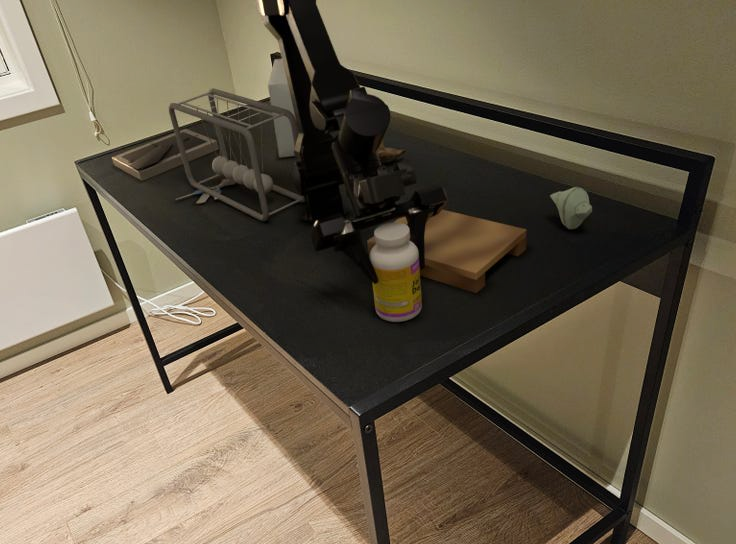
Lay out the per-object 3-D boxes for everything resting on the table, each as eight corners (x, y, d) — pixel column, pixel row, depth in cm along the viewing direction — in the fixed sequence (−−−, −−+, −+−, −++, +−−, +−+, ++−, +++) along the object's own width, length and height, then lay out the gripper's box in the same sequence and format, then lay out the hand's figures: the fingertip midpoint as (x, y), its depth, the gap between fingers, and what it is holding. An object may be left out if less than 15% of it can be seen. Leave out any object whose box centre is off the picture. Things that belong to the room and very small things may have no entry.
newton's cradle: (188, 185, 142) (165, 101, 131) (228, 168, 146) (209, 86, 135) (267, 225, 122) (247, 130, 111) (311, 204, 126) (296, 111, 115)
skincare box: (303, 155, 146) (290, 81, 136) (279, 159, 147) (264, 86, 137) (306, 123, 163) (294, 55, 153) (284, 126, 163) (271, 58, 153)
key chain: (232, 177, 142) (231, 173, 142) (252, 187, 137) (251, 183, 136) (175, 201, 137) (174, 197, 137) (193, 212, 131) (192, 208, 131)
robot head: (544, 223, 107) (546, 184, 103) (564, 215, 108) (567, 176, 104) (579, 241, 101) (583, 201, 97) (600, 233, 102) (605, 192, 98)
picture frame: (142, 181, 149) (219, 149, 158) (138, 169, 148) (216, 137, 156) (114, 165, 160) (188, 136, 168) (110, 154, 158) (184, 125, 167)
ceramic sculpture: (315, 128, 133) (377, 110, 138) (319, 170, 138) (379, 151, 143) (343, 141, 125) (407, 122, 130) (346, 185, 130) (408, 164, 135)
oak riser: (369, 259, 107) (366, 240, 105) (420, 222, 114) (419, 203, 112) (476, 293, 95) (476, 272, 93) (525, 249, 102) (526, 229, 100)
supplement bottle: (420, 324, 91) (414, 242, 83) (373, 324, 93) (362, 244, 85) (424, 296, 96) (418, 217, 88) (379, 297, 98) (370, 219, 90)
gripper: (302, 163, 82) (343, 280, 80) (440, 125, 84) (482, 237, 83) (296, 198, 93) (332, 301, 91) (418, 163, 95) (455, 262, 94)
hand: (399, 275), depth 89 cm, fingers closed on supplement bottle, 6 cm apart
